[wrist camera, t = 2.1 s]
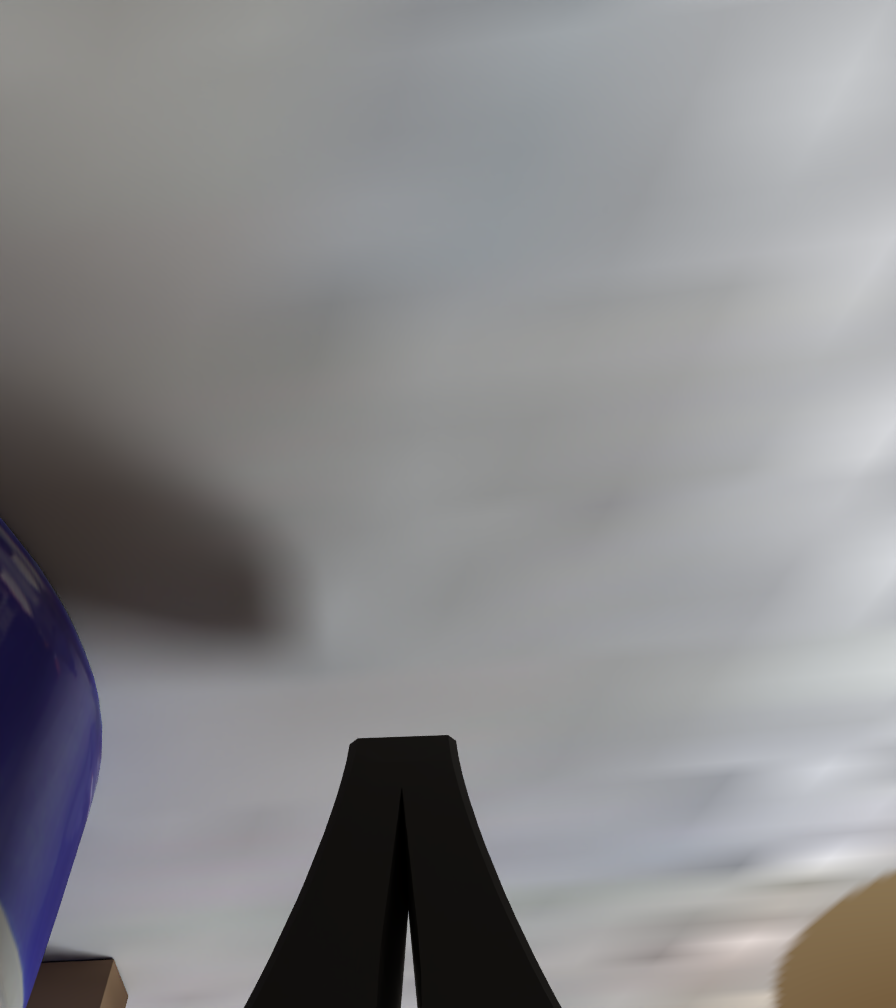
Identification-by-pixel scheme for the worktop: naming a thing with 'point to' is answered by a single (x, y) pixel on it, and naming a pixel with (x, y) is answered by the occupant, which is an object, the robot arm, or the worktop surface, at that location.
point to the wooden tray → (78, 985)
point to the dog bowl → (39, 762)
